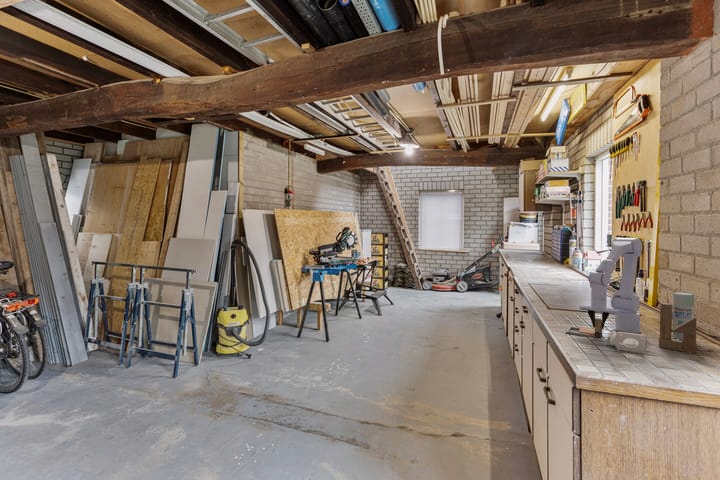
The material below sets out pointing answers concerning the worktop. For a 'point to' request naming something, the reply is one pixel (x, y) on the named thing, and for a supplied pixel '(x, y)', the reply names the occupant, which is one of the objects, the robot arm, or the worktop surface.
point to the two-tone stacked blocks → (598, 327)
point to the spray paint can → (682, 310)
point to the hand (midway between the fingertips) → (598, 328)
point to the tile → (587, 332)
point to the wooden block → (685, 328)
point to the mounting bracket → (627, 341)
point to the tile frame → (576, 332)
